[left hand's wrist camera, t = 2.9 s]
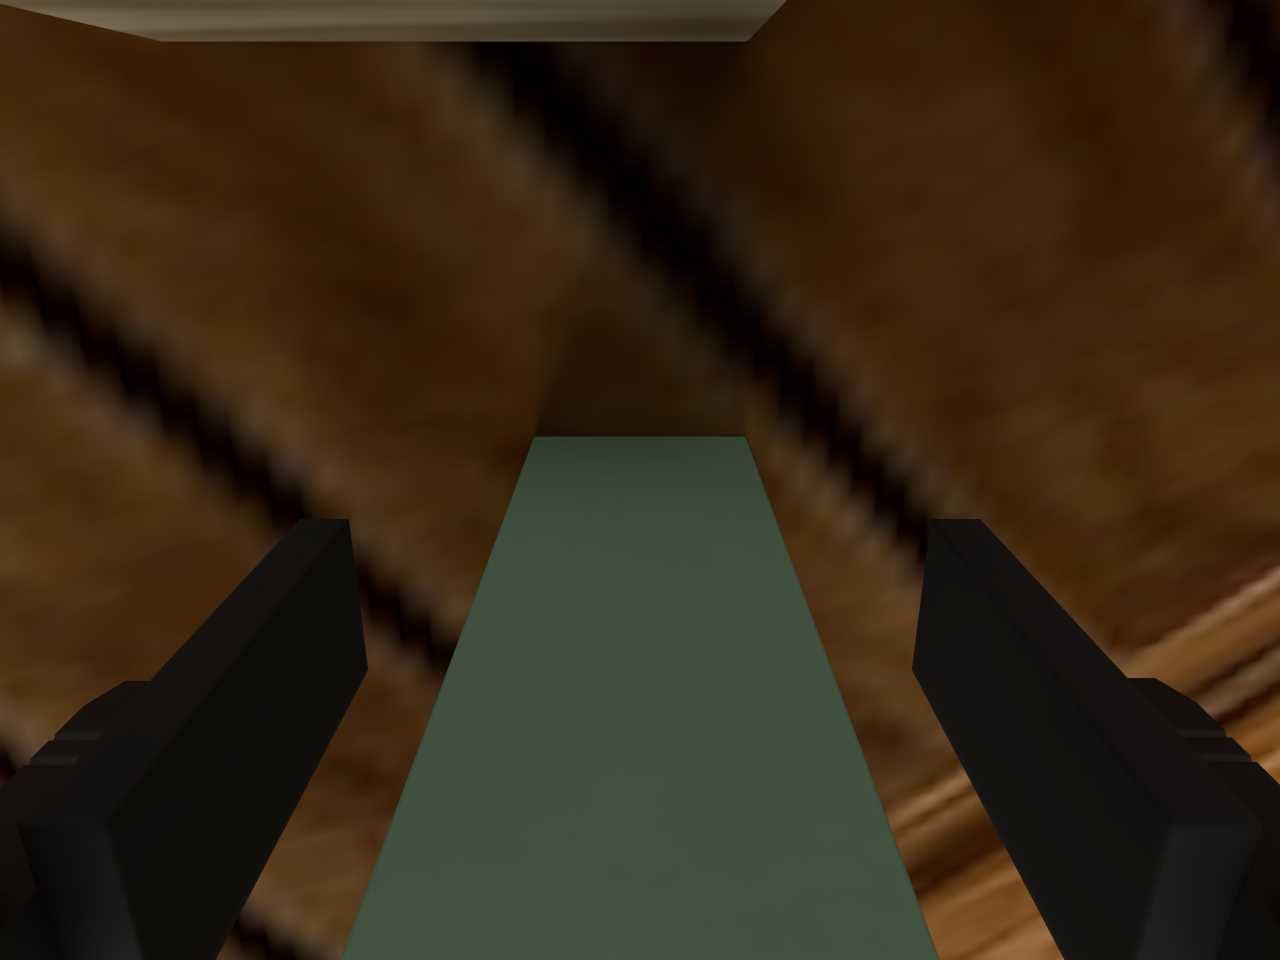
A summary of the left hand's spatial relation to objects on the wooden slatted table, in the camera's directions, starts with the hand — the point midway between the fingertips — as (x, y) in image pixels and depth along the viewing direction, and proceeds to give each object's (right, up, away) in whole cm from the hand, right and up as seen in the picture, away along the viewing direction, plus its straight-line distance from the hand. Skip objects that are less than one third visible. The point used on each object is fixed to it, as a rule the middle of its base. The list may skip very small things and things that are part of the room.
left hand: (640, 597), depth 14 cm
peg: (0, +1, +2) cm, 2 cm away
